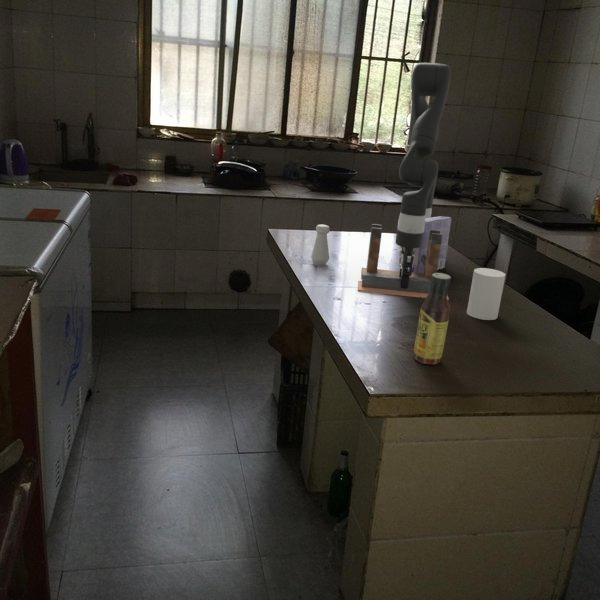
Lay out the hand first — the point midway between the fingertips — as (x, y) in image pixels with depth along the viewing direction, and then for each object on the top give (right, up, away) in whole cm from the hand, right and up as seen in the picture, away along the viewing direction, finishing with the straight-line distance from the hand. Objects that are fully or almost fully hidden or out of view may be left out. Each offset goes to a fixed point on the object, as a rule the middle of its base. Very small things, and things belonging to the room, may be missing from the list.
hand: (403, 284), depth 190 cm
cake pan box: (+11, +5, +24) cm, 27 cm away
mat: (0, -2, +1) cm, 2 cm away
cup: (+19, -9, -14) cm, 25 cm away
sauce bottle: (-2, -18, -47) cm, 50 cm away
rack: (+1, +2, +12) cm, 12 cm away
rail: (0, -2, 0) cm, 2 cm away
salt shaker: (-24, +7, +21) cm, 33 cm away
